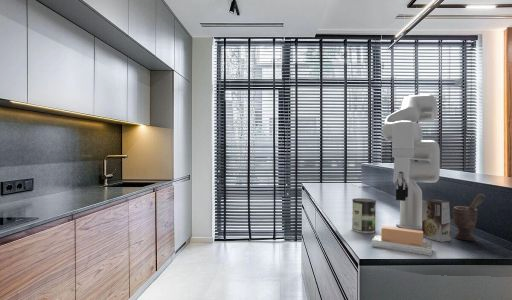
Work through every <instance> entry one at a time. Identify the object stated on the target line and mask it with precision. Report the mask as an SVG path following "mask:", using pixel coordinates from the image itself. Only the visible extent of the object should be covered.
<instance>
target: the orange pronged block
mask: <svg viewBox="0 0 512 300" xmlns="http://www.w3.org/2000/svg"><path fill="white" fill-rule="evenodd" d="M380 236H381V240H385V241H393V242H400V243H407V244H413V245H419V246H420V245H421V246H423V242H424V237H423V231H422V230H411V229H404V228H400V227H394V226H385V225H383V226H382V227H381V235H380Z"/></svg>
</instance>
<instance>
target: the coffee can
mask: <svg viewBox="0 0 512 300" xmlns="http://www.w3.org/2000/svg"><path fill="white" fill-rule="evenodd" d="M351 201H352V215H351V216H352V218H351V219H352V221H351V222H352V227H351V230H352V231H353V232H357V233H360V234H361V233H362V234H374V233H376V207H377V206H376V205H377V200H375V199H372V198H363V197H362V198H361V197H359V198H358V197H357V198H352V199H351Z"/></svg>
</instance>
